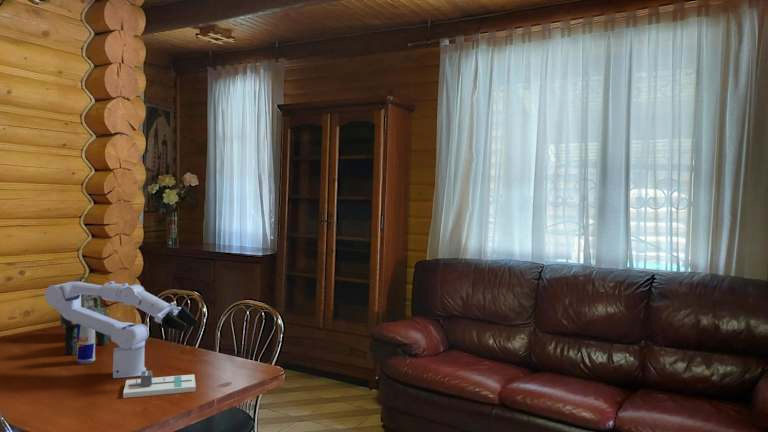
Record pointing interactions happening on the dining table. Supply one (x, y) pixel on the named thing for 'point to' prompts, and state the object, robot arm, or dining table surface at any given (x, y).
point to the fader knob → (146, 378)
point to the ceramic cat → (72, 332)
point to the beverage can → (85, 344)
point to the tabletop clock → (85, 302)
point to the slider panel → (160, 386)
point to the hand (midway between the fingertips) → (191, 326)
